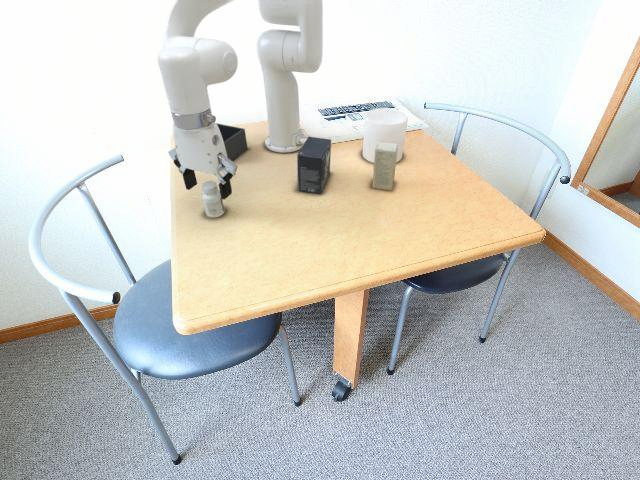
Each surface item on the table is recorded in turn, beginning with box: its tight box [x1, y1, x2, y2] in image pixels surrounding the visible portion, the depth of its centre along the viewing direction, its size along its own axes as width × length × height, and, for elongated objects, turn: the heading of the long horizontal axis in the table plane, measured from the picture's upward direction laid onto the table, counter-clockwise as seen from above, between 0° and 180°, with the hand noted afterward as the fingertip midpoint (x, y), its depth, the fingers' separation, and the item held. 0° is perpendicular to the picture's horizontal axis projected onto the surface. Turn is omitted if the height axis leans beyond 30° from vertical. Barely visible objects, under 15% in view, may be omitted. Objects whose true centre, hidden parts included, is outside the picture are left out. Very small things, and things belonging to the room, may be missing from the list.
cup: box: [362, 107, 409, 164], centre depth 106 cm, size 12×12×12 cm
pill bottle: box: [201, 180, 225, 218], centre depth 85 cm, size 4×4×8 cm
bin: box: [215, 122, 249, 162], centre depth 109 cm, size 12×10×7 cm
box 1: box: [296, 136, 332, 195], centre depth 95 cm, size 11×7×10 cm, turn 166°
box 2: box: [372, 142, 398, 191], centre depth 93 cm, size 5×4×11 cm
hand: (209, 191), depth 83 cm, fingers open, 9 cm apart
